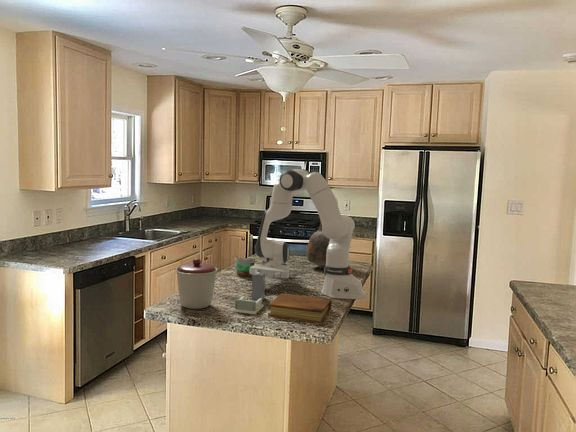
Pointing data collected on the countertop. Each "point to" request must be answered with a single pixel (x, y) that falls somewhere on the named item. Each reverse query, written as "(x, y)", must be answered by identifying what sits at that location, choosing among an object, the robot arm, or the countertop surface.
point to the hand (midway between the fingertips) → (265, 275)
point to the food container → (244, 266)
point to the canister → (196, 284)
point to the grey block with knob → (258, 285)
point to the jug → (318, 248)
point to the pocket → (247, 305)
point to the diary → (300, 307)
